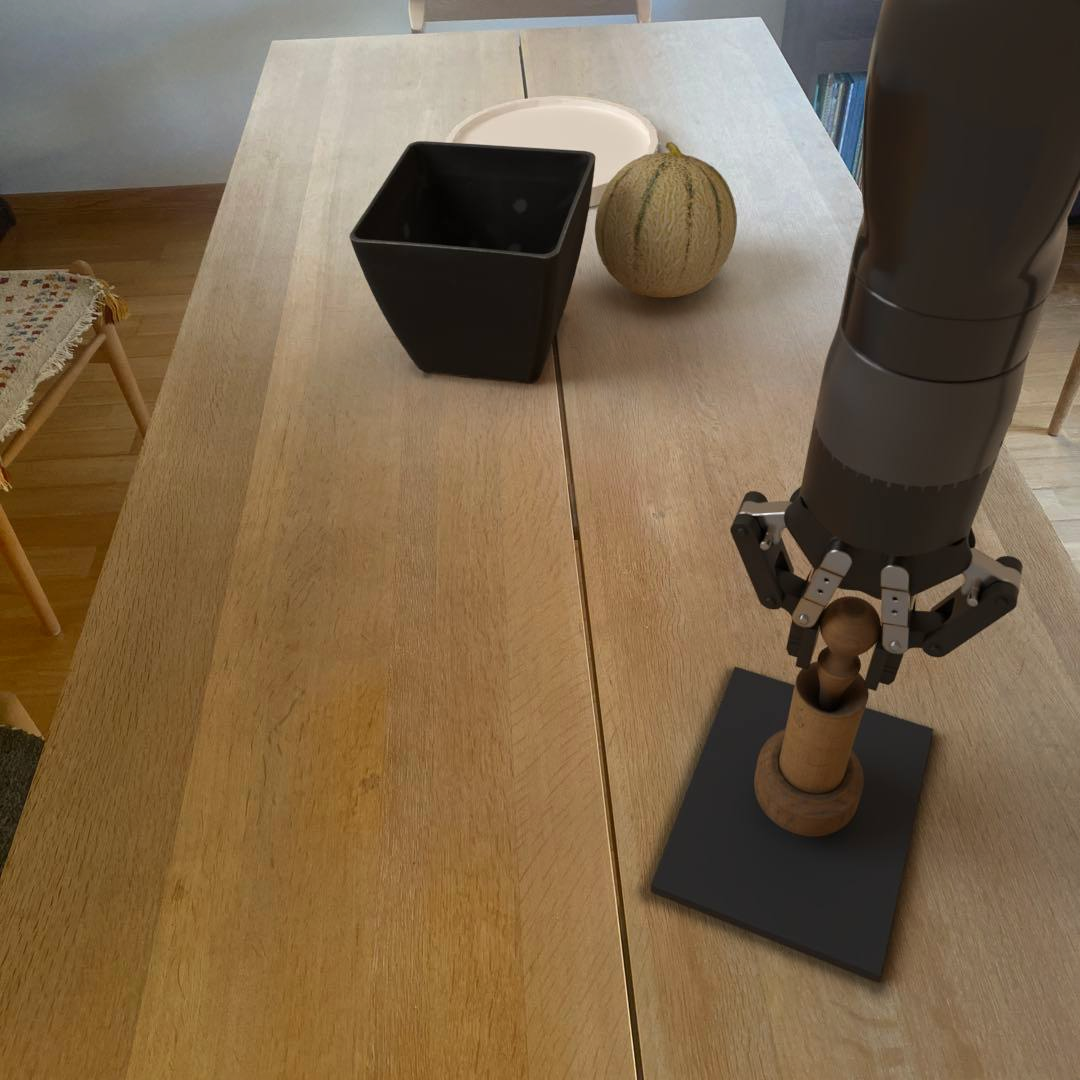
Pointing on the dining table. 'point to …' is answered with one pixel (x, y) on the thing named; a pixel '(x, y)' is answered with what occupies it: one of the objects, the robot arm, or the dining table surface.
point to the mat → (795, 835)
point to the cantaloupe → (665, 224)
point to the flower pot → (476, 253)
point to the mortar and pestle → (821, 730)
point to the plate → (565, 131)
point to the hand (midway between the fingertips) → (839, 665)
